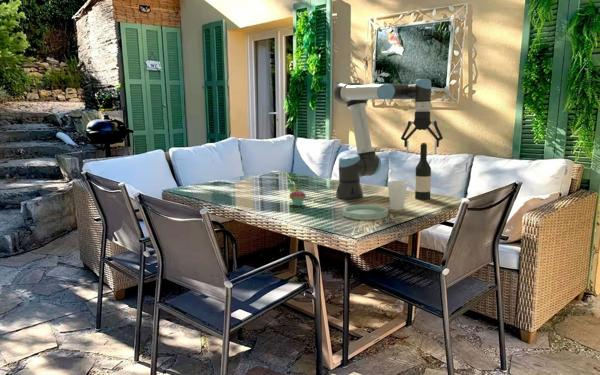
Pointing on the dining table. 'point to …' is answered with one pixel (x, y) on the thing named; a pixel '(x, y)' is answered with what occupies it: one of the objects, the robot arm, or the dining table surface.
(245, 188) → the dining table surface
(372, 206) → the saucer
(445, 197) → the dining table surface
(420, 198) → the wine bottle
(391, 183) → the foam cup
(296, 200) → the cupcake
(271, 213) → the dining table surface
